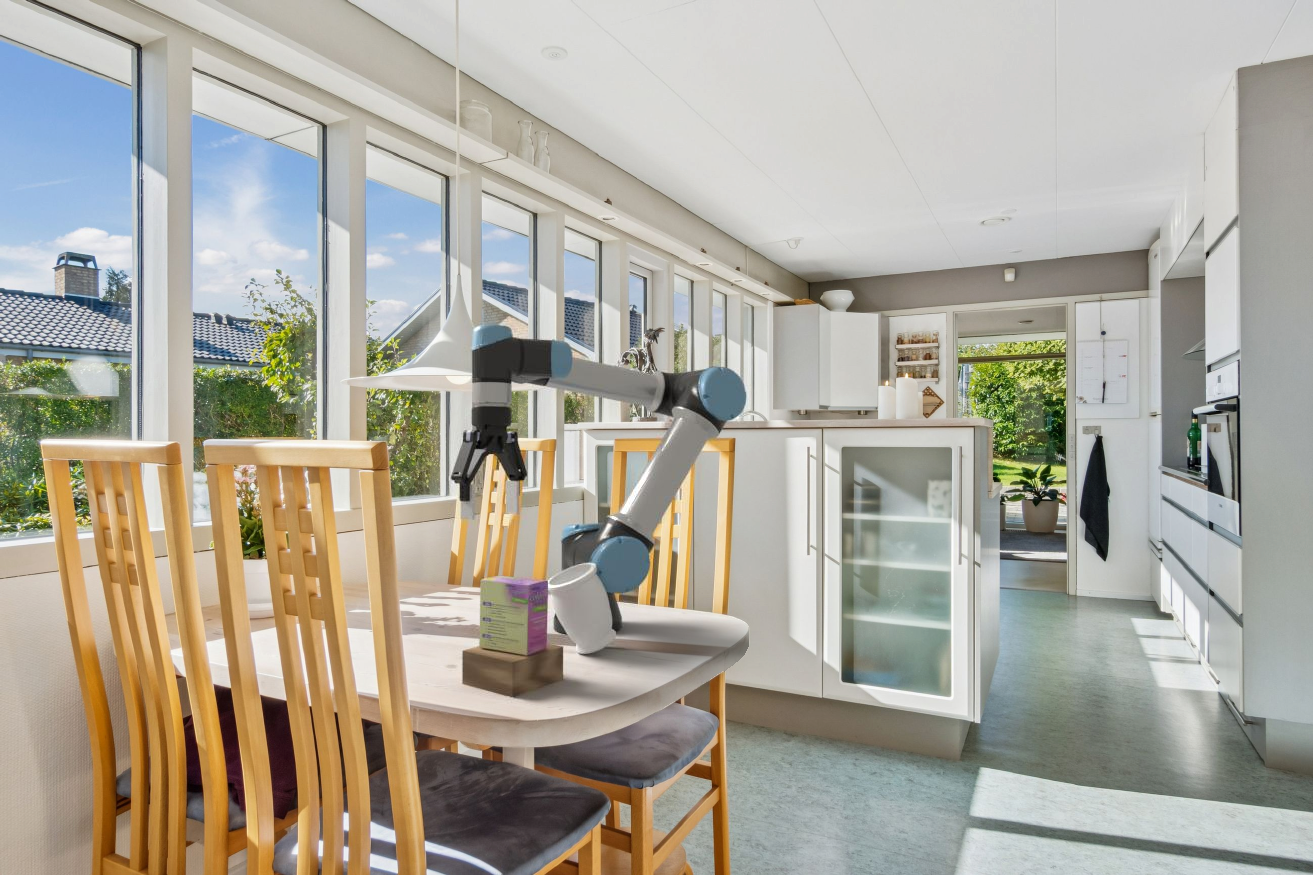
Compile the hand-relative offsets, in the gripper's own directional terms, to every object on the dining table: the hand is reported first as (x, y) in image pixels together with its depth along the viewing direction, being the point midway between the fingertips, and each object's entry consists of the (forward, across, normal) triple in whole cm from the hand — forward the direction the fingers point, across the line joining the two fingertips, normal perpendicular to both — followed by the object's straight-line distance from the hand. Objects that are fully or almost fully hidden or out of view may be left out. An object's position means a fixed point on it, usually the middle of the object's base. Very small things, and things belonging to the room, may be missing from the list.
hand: (490, 516), depth 149 cm
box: (+21, +12, +14) cm, 28 cm away
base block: (+27, +11, +14) cm, 32 cm away
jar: (+25, -12, +17) cm, 33 cm away
